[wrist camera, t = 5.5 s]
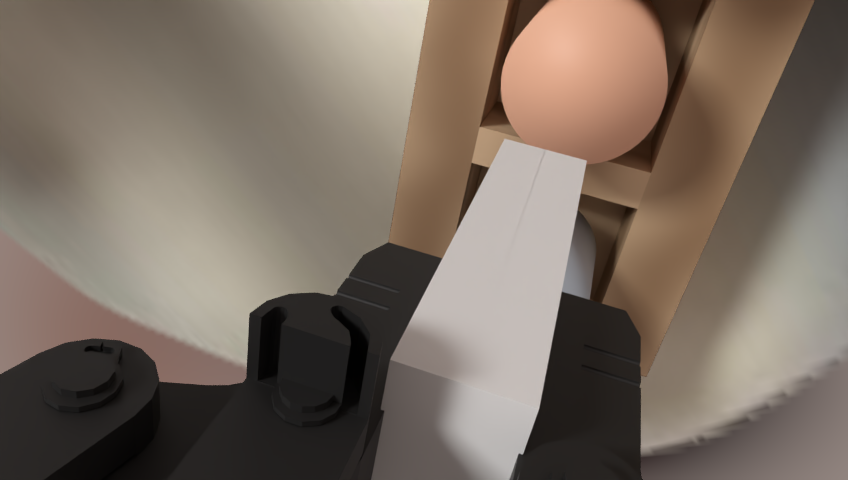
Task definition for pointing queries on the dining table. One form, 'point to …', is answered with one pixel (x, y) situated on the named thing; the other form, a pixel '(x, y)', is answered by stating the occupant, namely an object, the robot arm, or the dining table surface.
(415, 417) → the robot arm
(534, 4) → the wooden peg tray
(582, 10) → the peach cylinder
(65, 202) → the dining table surface
